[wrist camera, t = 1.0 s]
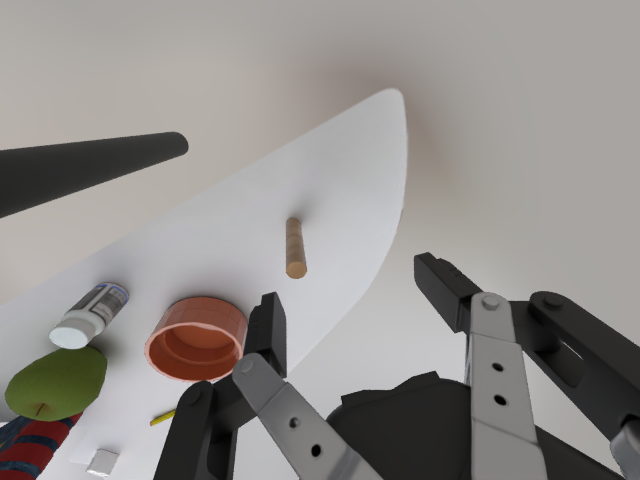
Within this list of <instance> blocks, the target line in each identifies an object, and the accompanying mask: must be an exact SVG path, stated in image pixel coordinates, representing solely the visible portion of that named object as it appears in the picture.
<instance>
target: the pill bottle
mask: <svg viewBox="0 0 640 480" xmlns="http://www.w3.org/2000/svg"><path fill="white" fill-rule="evenodd" d="M128 298H129V297H128V293H127V292H126V290H125V289H124V288H122V287H121V286H118V285H116V284H112V283H102V284H99V285H97V286H96V287H95V288H93V289H92V290H91V291H90V292H89V293H88V294H87V295H85V296H84V297H83V298H82V299H81V300H80V301H79V302H78V303H77V304H75V305H74V306H73V307H72V308H71V309H70V310H69V311H68V312H66V313H65V314H64V315H63V317H62V318H61V322H60V323H59V324H58V325H57V326H56V327H55V328H54V329H53V330H52V331H51V332H50V334H49V337H50V339H51V341H52V342H53V343H54V344H56V345H58V346H60V347H63V348H66V349H79V348H82V347H84V346H86V345H87V344H88V343H89V342H90V341H91V340H92V339H93V337H94V336H96V335H98V334H100V333H101V332H102V331H103V330H104V329H105V328H106V326H107V325H108V324H109V323H110V322H111V321H112V319H113V318H114V317H115V316H116V315H117V313H118V312H119V311H120V310H121V309H122V308H123V306H124V305H125V304H126V303H127V301H128Z"/></svg>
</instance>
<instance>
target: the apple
mask: <svg viewBox="0 0 640 480" xmlns="http://www.w3.org/2000/svg"><path fill="white" fill-rule="evenodd" d="M106 369H107V359H106V358H105V357H104V356H103V355H102V354H101V353H100V352H99V351H98V350H96V349H94V348H91V347H86V346H84V347H82V348H79V349H66V348H61V349H59V350H56V351H54V352H52V353H50V354H48V355H46V356H44V357H42V358H40V359H38V360H36V361H34V362H33V363H31V364H30V365H28V366H27V367H26V368H24V369H23V370H21V371H20V372H19V373H17V374H16V375H15V376H14V377H13V378H12V380H11V381H10V382H9V385H8V387H7V390H6V392H5V398H6V402H7V404H8V406H9V407H10V409H11V410H13V411H14V412H15V413H17V414H19V415H22V416H25V417H28V418H31V419H35V420H40V421H55V420H60V419H63V418H67V417H70V416H73V415H75V414H78V413H81V412H82V411H83V410H84V409H85V408H87V407H88V406H89V405H90V404H91V403H92V402H93V401H94V400H95V399H96V398H97V397H98V396H99V393H100V390H101V388H102V385H103V383H104V379H105V374H106Z"/></svg>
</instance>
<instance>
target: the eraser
mask: <svg viewBox="0 0 640 480" xmlns="http://www.w3.org/2000/svg"><path fill="white" fill-rule="evenodd" d="M118 457H119V455H118V454H114V453H111V452H108V451H105V450H102V449H100V450H98V451H97V452H96V454H95V456H94V457H93V459H92V461H91V463H90V464H89V466H88V468H87V470H86V472H89V473H93V474H97V475H101V476H105V477H107V476H108V475H110V473H111V471H112V469H113V467H114V465H115V463H116V461H117V459H118Z"/></svg>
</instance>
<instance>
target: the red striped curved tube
mask: <svg viewBox="0 0 640 480" xmlns="http://www.w3.org/2000/svg"><path fill="white" fill-rule="evenodd" d="M83 411H84V410H83ZM83 411H82V412H81V413H78V414H75V415H73V416H70V417H67V418H63V419H60V420H55V421H40V420H35V419H31V418H28V417H25V416H22V415H21V416H20V417H18V418H16V419H15V420H13V421H11V422H9V423H8V424H6V425H4V426H3V427H1V428H0V480H36V478H37V477H38V476H39V474H41V473H42V471H43V470H44V469H45V467H46V466H47V464H48V463H49V462H50V460H51V459H52V457H53V454H54V452H55V451H56V450H57V449H58V448H59V447H60V446H61V444H62V443H63V441H64V440H65V438H66V437H67V436H68V434H69V431H70V430H71V428H72V427H73V426H74V425H75V424H76V422H77V421H78V420H79V418H80V417H81V415H82V414H83Z"/></svg>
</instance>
